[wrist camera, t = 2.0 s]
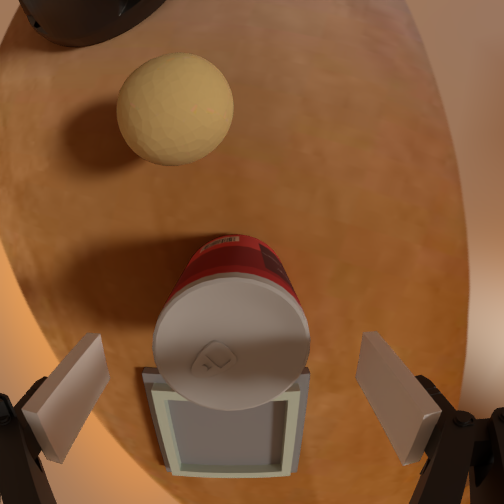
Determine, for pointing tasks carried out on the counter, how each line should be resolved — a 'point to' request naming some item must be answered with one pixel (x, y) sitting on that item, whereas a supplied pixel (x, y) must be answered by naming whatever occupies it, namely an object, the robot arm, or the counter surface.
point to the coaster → (228, 432)
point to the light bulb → (174, 109)
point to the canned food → (232, 327)
